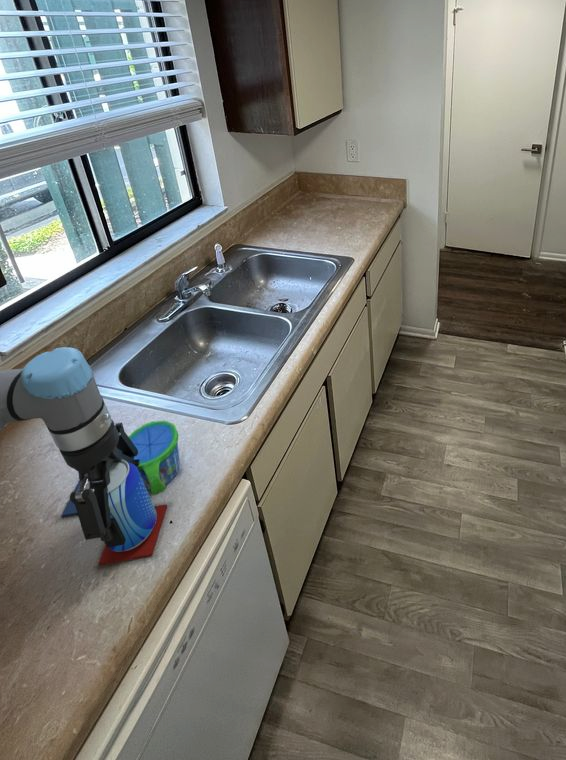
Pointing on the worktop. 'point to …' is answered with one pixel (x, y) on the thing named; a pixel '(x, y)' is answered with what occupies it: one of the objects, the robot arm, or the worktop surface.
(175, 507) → the worktop surface
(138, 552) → the red mat
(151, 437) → the snack cup
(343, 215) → the worktop surface
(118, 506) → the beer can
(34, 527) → the worktop surface
